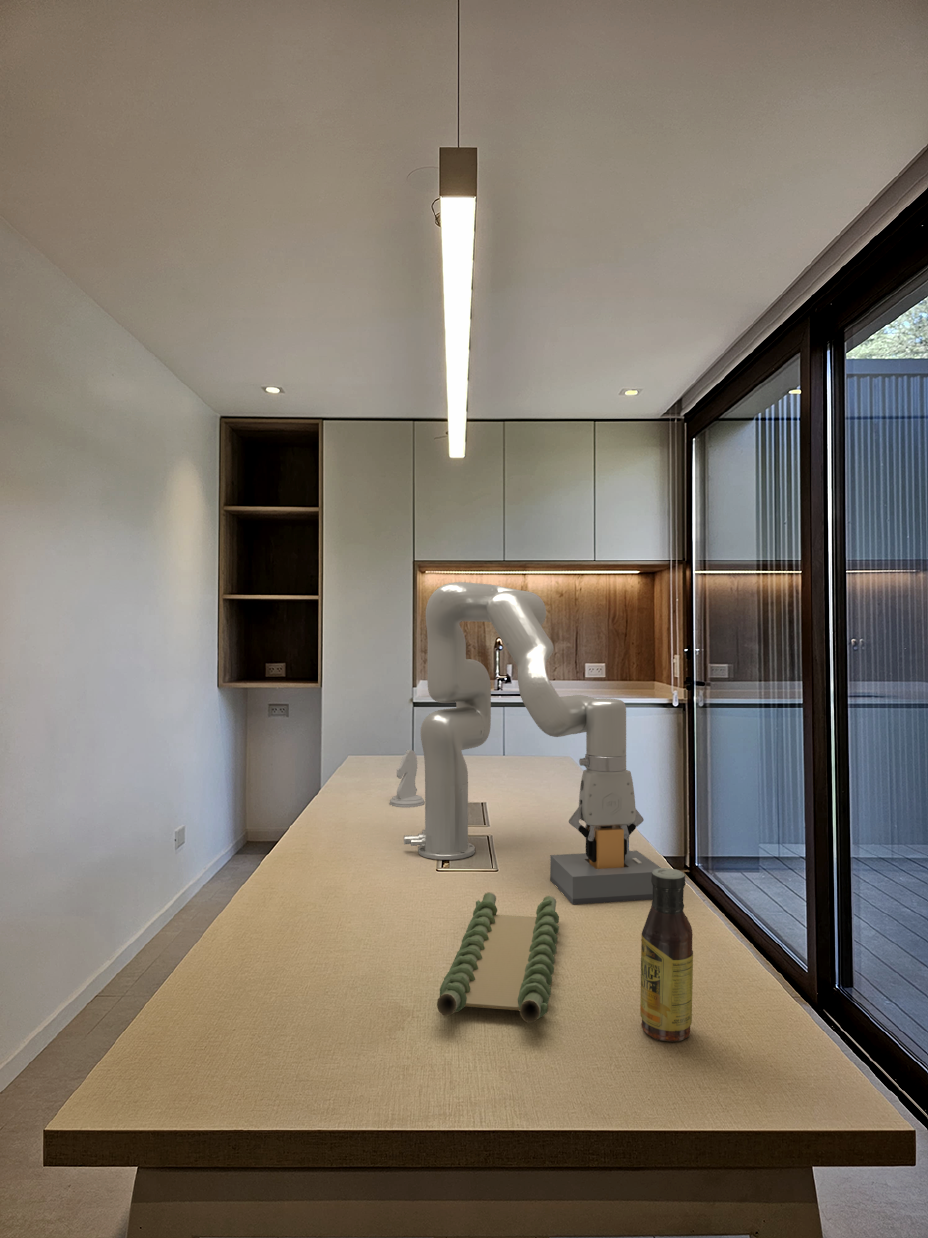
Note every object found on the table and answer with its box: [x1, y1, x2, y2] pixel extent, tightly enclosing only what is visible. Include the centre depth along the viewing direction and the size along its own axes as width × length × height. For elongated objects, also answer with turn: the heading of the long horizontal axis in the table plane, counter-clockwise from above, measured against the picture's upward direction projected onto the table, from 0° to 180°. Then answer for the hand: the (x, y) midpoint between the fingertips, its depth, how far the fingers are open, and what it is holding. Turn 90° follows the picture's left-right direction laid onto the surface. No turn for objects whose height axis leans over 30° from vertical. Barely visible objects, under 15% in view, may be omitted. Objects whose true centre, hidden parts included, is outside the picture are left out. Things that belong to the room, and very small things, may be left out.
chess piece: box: [389, 749, 425, 808], centre depth 228 cm, size 10×10×15 cm
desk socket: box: [549, 850, 662, 905], centre depth 154 cm, size 18×14×5 cm
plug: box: [590, 826, 624, 869], centre depth 154 cm, size 5×5×9 cm
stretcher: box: [436, 891, 560, 1024], centre depth 119 cm, size 41×14×5 cm, turn 170°
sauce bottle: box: [639, 867, 694, 1042], centre depth 100 cm, size 6×6×20 cm
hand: (606, 858), depth 154 cm, fingers closed on plug, 4 cm apart
